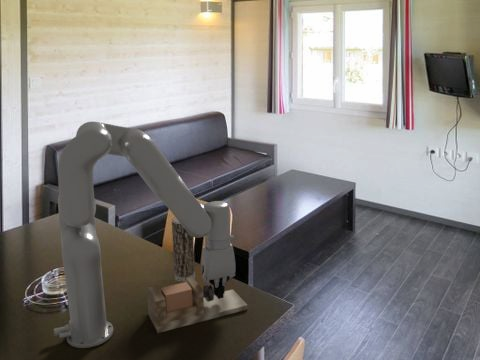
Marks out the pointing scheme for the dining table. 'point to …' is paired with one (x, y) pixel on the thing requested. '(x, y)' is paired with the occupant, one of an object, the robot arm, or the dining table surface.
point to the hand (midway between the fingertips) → (219, 296)
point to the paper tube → (182, 253)
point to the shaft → (207, 293)
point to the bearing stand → (191, 308)
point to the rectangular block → (177, 296)
